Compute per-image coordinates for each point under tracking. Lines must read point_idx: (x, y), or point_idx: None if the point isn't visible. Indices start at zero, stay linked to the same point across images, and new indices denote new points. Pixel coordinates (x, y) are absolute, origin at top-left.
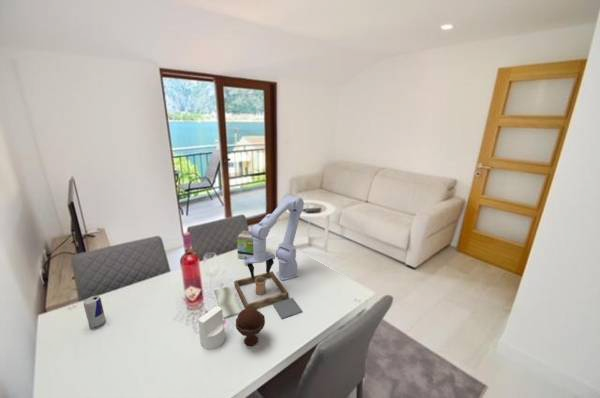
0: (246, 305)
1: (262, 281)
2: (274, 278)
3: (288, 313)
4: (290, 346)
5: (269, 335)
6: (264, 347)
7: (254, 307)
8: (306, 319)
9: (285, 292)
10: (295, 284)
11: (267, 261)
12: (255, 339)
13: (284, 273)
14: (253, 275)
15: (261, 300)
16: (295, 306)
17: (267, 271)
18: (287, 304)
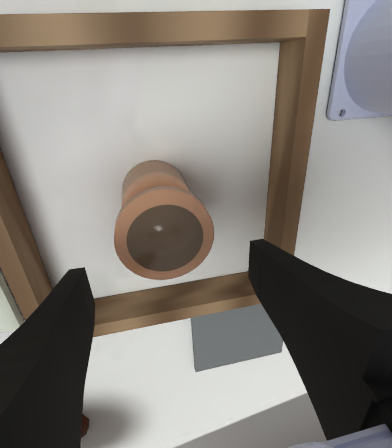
0: None
1: (177, 264)
2: (292, 128)
3: (229, 356)
4: (180, 438)
5: (130, 413)
6: (105, 441)
7: None
8: (271, 373)
9: None
10: (366, 184)
11: (347, 401)
12: None
13: (387, 108)
14: (87, 341)
15: (134, 322)
16: (271, 331)
17: (259, 285)
18: (249, 317)
